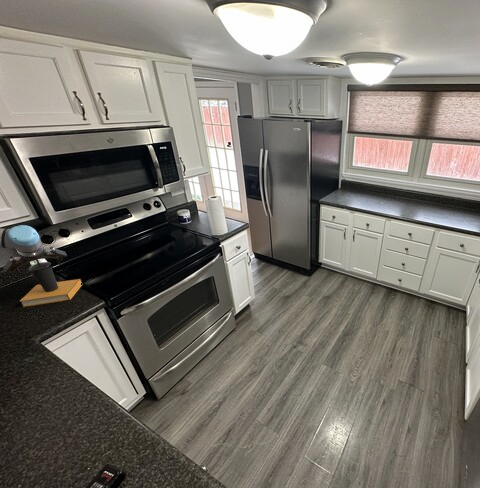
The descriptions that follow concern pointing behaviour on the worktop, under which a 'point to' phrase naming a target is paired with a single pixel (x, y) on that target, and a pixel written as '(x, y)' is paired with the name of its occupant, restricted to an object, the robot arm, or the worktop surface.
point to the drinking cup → (44, 275)
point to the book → (51, 293)
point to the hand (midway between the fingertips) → (40, 267)
